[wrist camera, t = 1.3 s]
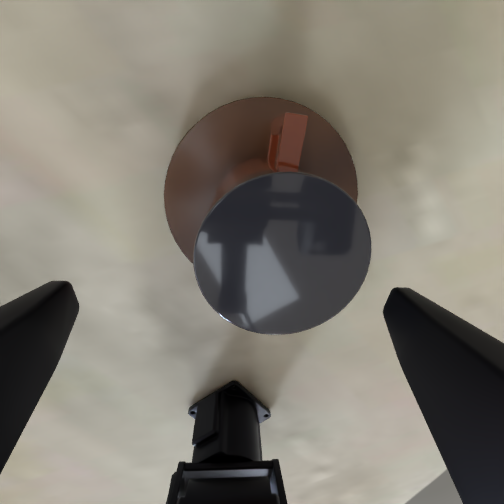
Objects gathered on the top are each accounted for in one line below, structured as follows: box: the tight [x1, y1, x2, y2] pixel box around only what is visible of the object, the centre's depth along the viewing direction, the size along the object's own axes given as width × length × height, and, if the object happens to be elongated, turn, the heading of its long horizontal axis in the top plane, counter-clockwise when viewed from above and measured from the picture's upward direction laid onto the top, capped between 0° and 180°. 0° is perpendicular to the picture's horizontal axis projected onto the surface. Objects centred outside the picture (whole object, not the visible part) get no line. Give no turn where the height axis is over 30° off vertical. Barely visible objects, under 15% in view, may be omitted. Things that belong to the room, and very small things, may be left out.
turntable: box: [164, 97, 358, 263], centre depth 20 cm, size 14×14×1 cm
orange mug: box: [193, 112, 371, 335], centre depth 15 cm, size 9×7×9 cm
